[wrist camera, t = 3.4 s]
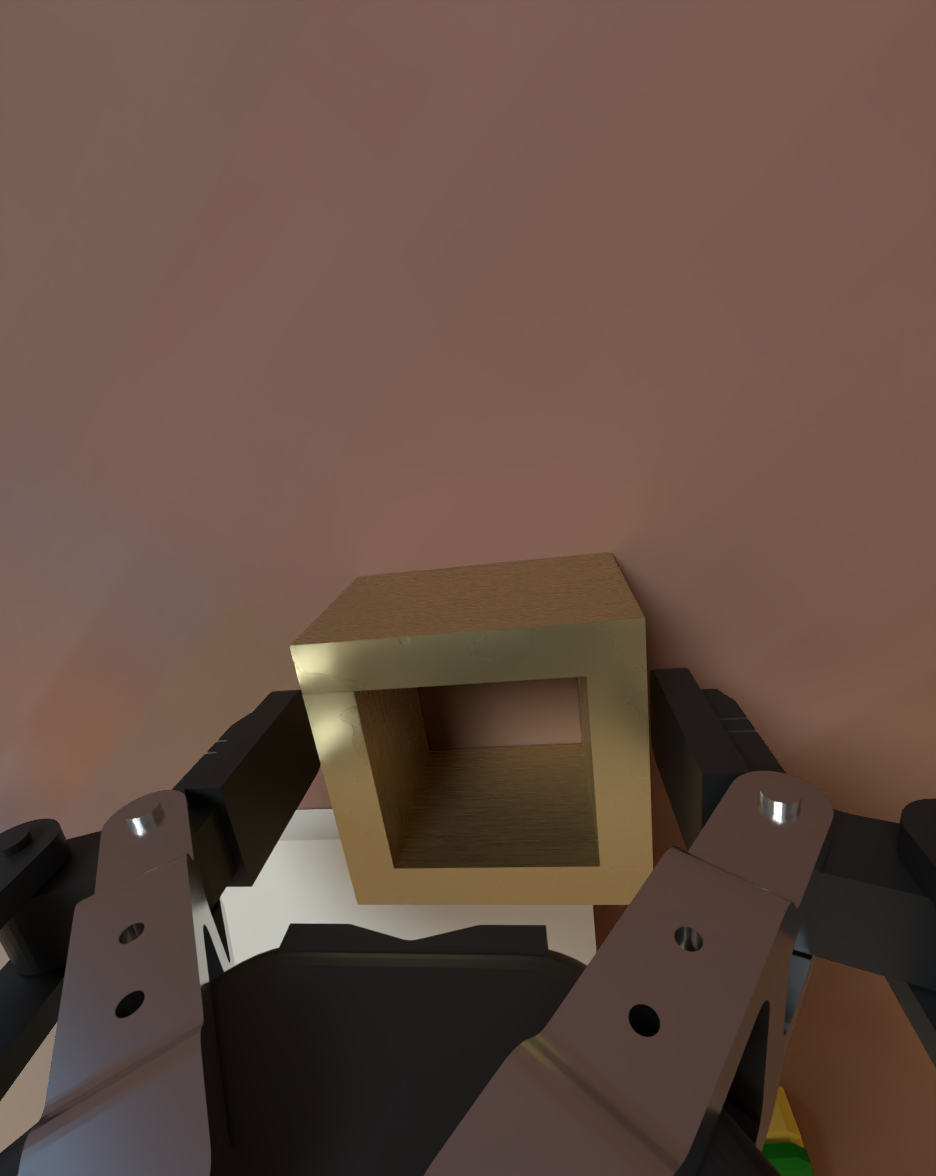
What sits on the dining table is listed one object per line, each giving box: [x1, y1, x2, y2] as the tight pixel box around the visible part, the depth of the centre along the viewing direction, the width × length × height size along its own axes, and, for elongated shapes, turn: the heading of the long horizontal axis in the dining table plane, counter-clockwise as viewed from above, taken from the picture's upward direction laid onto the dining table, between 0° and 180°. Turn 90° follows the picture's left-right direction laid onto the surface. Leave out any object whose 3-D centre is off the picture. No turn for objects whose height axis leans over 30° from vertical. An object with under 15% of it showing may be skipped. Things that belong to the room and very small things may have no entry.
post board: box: [221, 809, 596, 965], centre depth 14 cm, size 12×12×8 cm
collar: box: [290, 553, 653, 905], centre depth 12 cm, size 6×6×4 cm
